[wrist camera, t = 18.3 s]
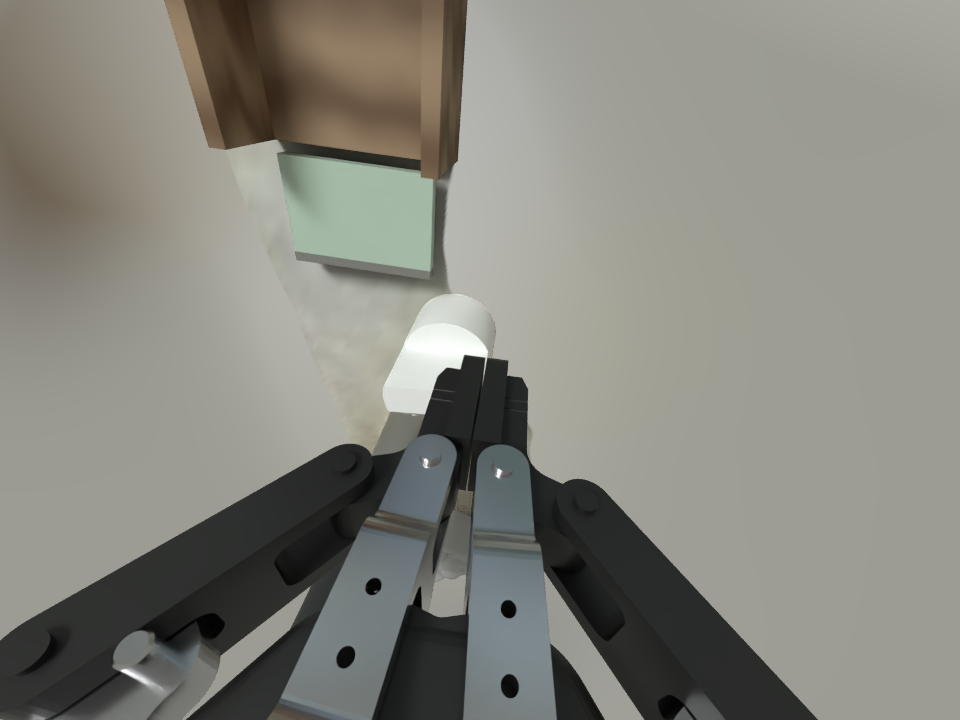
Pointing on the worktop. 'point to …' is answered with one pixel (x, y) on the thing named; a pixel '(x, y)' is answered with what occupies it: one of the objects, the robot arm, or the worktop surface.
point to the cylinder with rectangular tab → (437, 349)
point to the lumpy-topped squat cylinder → (455, 548)
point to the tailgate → (360, 214)
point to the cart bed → (328, 73)
